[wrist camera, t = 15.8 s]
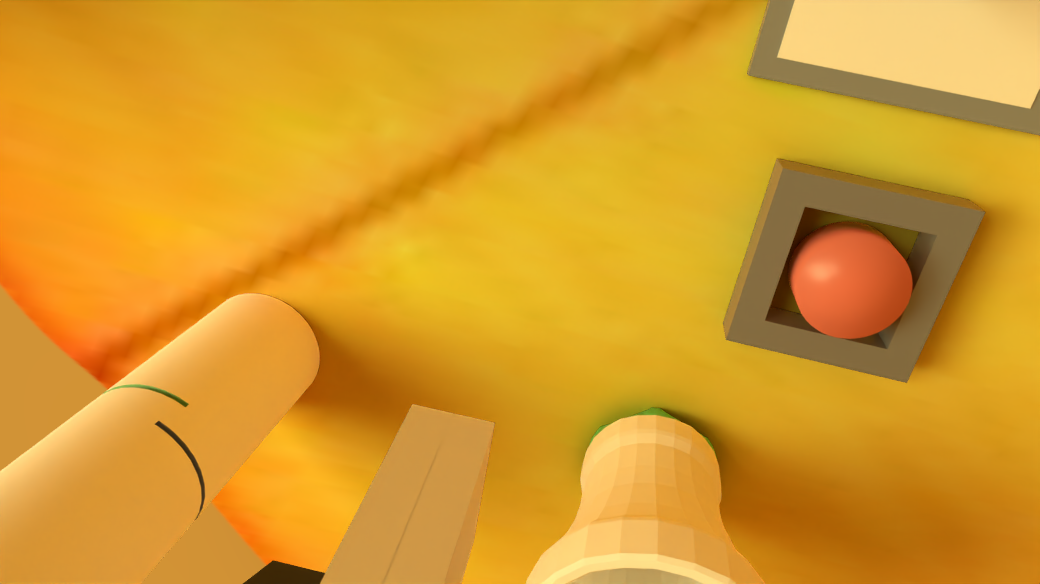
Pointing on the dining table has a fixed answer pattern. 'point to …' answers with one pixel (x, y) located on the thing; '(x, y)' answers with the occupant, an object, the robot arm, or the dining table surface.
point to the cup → (647, 511)
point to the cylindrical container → (153, 448)
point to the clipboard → (911, 54)
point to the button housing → (800, 185)
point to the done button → (849, 280)
